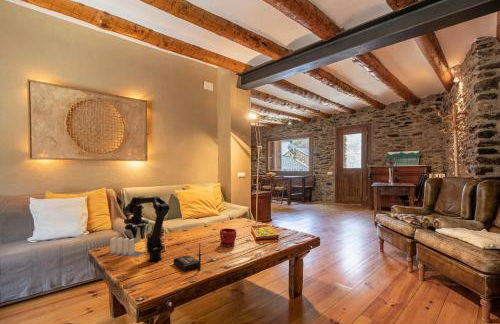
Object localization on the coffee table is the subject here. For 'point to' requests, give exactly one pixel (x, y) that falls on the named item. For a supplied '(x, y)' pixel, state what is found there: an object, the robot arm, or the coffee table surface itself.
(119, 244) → the domino
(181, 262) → the black wifi router
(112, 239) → the end domino
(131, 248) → the domino
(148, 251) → the robot arm
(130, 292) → the coffee table surface
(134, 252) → the mat
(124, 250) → the domino
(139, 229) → the sage domino
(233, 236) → the plant pot
